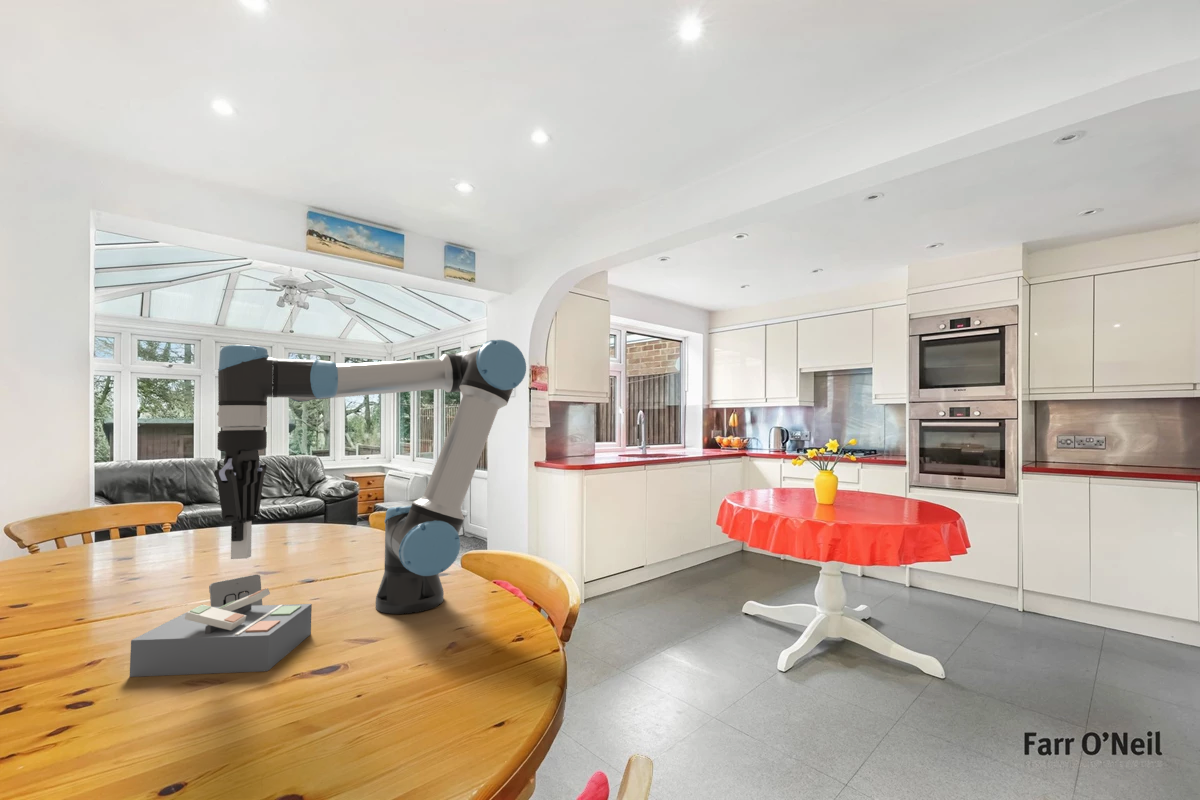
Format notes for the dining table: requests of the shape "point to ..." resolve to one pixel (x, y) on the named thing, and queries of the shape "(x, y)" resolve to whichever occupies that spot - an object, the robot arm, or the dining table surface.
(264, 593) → the rocker
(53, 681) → the dining table surface
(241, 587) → the electrical switch
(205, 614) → the rocker
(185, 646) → the console
